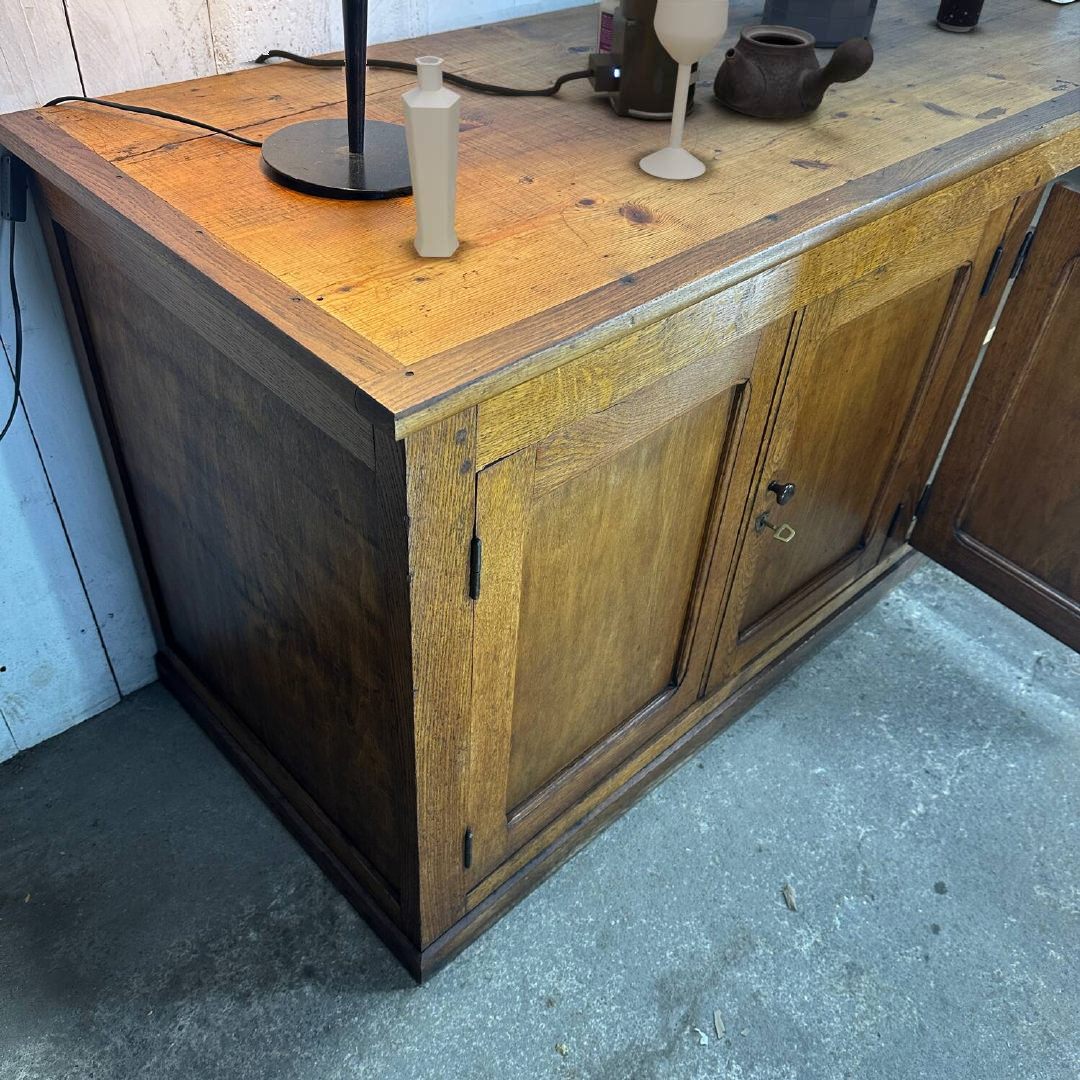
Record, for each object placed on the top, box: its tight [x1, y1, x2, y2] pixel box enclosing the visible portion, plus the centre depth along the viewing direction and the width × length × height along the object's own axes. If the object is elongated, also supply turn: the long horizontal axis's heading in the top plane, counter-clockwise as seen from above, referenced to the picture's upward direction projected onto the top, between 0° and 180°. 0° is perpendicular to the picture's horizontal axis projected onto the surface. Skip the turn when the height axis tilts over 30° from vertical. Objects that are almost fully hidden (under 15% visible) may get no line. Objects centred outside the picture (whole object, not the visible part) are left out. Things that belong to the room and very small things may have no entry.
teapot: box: [713, 24, 875, 119], centre depth 108 cm, size 19×15×10 cm
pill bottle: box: [595, 0, 620, 53], centre depth 119 cm, size 5×5×10 cm
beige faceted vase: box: [400, 55, 462, 258], centre depth 79 cm, size 5×4×15 cm
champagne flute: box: [638, 0, 730, 180], centre depth 91 cm, size 7×7×24 cm
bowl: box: [760, 0, 879, 48], centre depth 134 cm, size 15×15×6 cm
